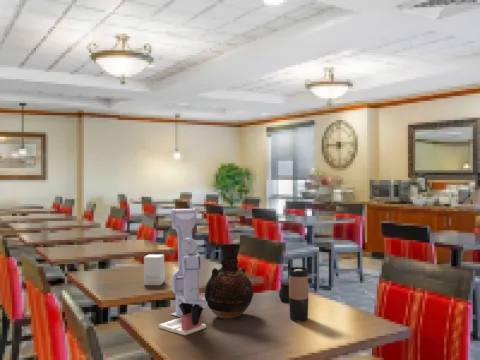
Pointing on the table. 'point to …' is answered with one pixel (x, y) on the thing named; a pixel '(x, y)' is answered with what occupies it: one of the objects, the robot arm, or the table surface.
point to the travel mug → (298, 293)
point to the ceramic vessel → (229, 286)
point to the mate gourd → (284, 291)
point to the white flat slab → (171, 325)
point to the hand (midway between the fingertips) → (191, 323)
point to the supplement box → (154, 269)
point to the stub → (189, 325)
